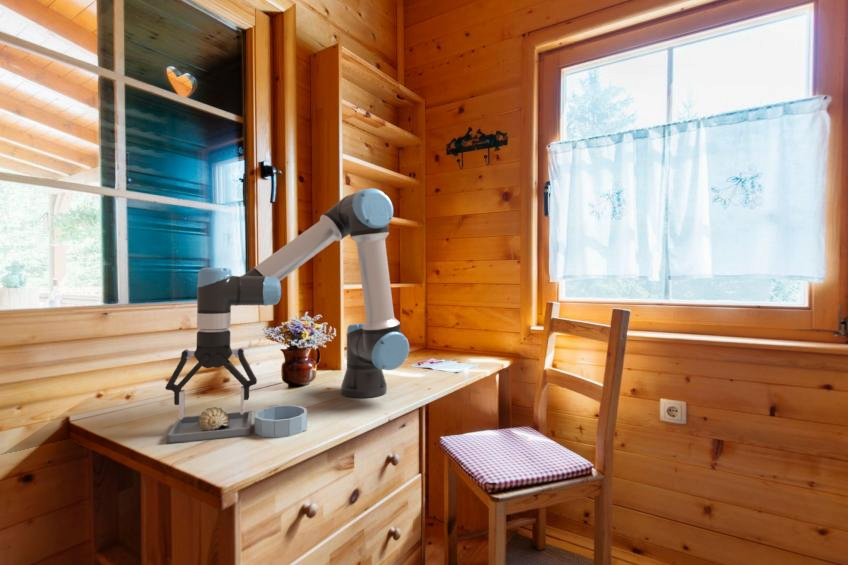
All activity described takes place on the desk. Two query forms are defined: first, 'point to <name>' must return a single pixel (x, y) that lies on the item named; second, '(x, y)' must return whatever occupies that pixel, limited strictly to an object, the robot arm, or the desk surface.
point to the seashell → (213, 419)
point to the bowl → (280, 421)
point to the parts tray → (191, 431)
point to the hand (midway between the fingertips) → (212, 415)
